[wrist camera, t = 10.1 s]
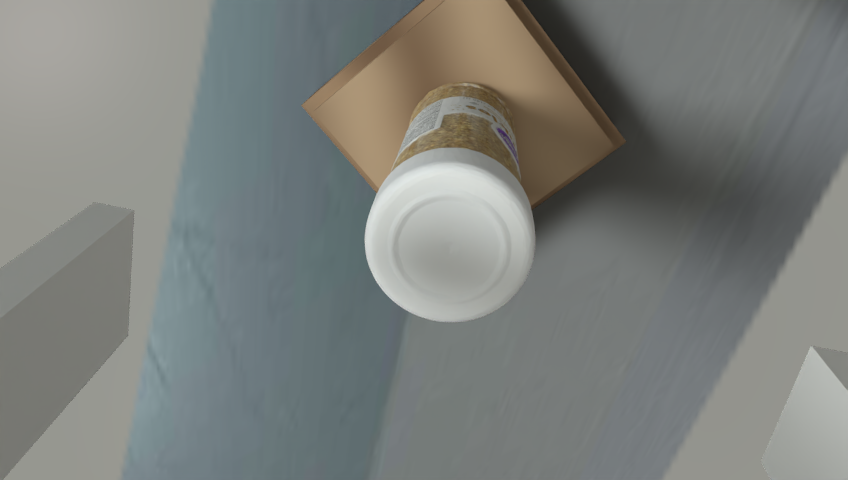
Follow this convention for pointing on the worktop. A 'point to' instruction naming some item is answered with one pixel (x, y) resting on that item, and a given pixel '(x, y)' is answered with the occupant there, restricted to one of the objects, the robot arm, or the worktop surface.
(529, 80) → the pedestal
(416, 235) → the sprinkles bottle
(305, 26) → the worktop surface
